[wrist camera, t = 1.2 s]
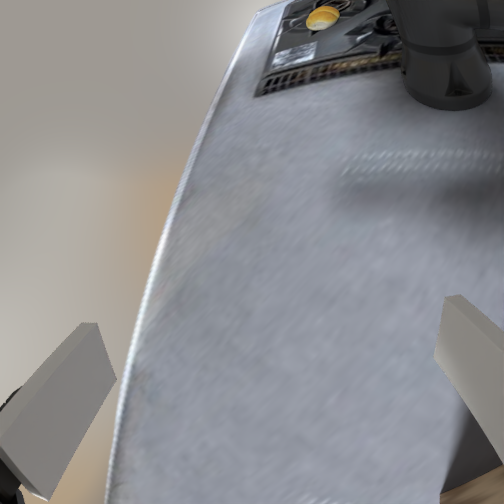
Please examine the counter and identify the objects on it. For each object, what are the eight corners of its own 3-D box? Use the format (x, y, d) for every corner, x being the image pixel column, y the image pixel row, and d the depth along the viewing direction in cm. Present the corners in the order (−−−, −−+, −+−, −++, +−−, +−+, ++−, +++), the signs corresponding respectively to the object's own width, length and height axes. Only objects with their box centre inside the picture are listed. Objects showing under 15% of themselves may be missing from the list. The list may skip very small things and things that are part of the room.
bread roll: (343, 12, 58) (336, -1, 55) (336, 28, 56) (329, 14, 53) (314, 17, 63) (307, 5, 60) (305, 33, 61) (297, 21, 58)
